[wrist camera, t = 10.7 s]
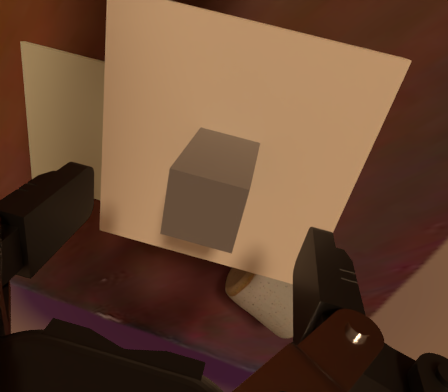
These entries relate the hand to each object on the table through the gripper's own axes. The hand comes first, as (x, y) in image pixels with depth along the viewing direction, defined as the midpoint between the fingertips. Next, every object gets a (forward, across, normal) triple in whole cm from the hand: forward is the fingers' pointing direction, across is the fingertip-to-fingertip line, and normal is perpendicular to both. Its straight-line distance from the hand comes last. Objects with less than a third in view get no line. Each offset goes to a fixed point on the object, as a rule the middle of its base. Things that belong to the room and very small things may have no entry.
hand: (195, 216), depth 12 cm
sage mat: (+21, +14, +8) cm, 27 cm away
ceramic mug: (+22, -7, +20) cm, 30 cm away
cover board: (+6, 0, 0) cm, 6 cm away
